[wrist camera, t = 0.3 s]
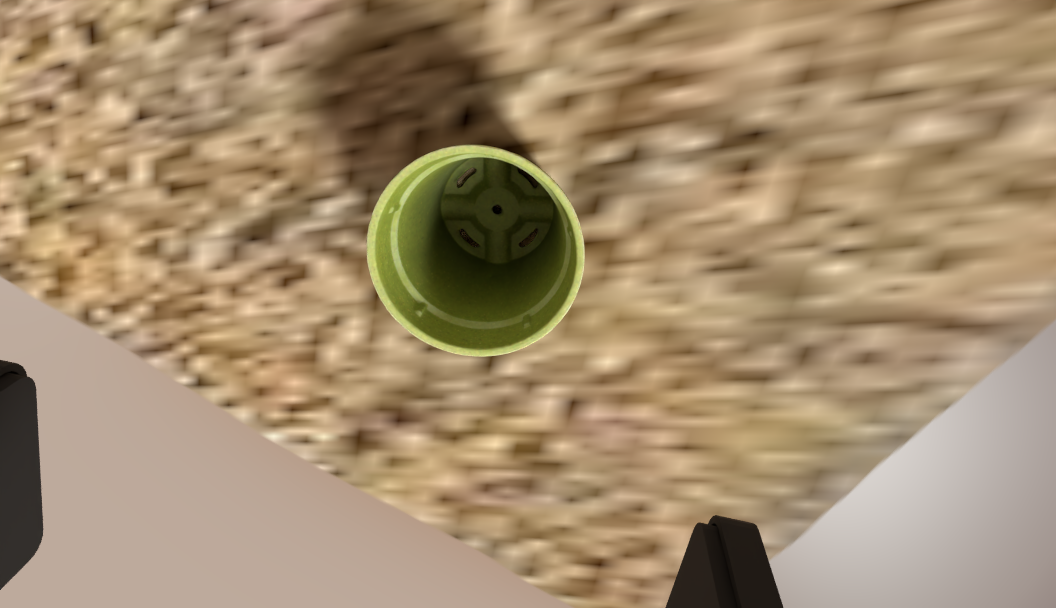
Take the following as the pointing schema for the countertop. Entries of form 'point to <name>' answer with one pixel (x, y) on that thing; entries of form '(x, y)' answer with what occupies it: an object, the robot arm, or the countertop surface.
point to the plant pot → (475, 251)
